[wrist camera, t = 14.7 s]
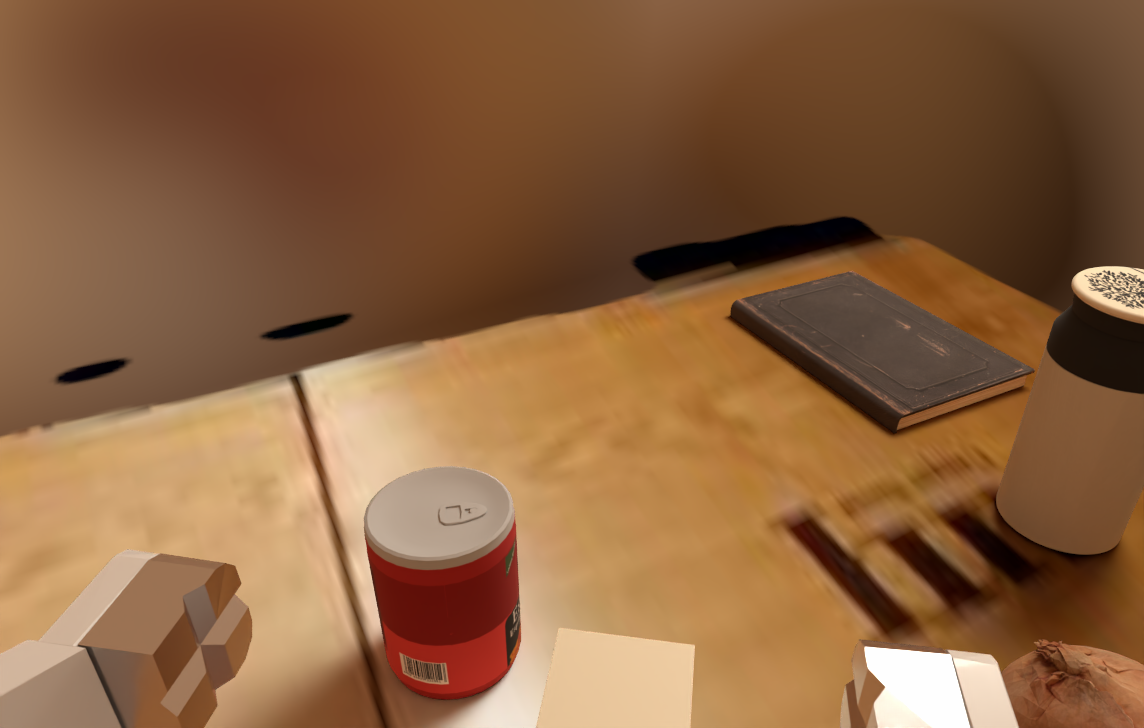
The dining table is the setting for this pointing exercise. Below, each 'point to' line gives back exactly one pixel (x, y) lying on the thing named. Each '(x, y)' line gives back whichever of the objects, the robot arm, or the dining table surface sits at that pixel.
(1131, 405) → the travel mug
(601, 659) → the tea tin
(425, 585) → the canned food
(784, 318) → the hardcover book
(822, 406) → the dining table surface
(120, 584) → the robot arm
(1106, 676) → the onion
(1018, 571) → the dining table surface
